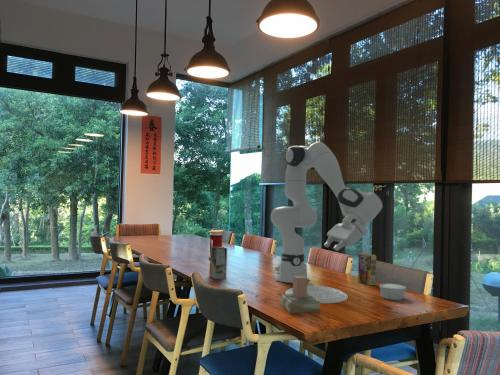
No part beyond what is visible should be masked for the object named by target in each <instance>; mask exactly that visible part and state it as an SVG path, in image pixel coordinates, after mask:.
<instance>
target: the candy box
mask: <svg viewBox="0 0 500 375" xmlns="http://www.w3.org/2000/svg"><path fill="white" fill-rule="evenodd" d="M357 268H358V270H357V282H358V283H361V284H364V285H369V286H376V282H377V281H376V280H377V276H376V275H377V255H376V254H370V253H365V252H360V253H358V267H357Z"/></svg>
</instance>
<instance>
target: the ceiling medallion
mask: <svg viewBox="0 0 500 375" xmlns="http://www.w3.org/2000/svg"><path fill="white" fill-rule="evenodd" d="M284 294H293V287H291V288H289V289H286V290H285V293H284ZM307 294H310V295H311V296H313V297H314V298H316V299H317V300H319V301H320V304H335V303H337V304H338V303H342V302H345V301H347V300H348V299H349V296H348V294H347V293H345V292H344V291H342V290H340V289H337V288H334V287H330V286H327V285H308V284H307Z"/></svg>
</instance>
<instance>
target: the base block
mask: <svg viewBox="0 0 500 375" xmlns="http://www.w3.org/2000/svg"><path fill="white" fill-rule="evenodd" d="M280 305H281V306H282V307H283V308H284V309H285V310H286V311H287V312H288V313H290V314H291V313H292V314H293V313H294V314H298V313H317V312H320V305H321V303H320V301H319V300H317V299H316V298H314V297H313V296H311V295H310V294H307V298H299V299H296V298H295V297H294V296H293V294H285V293H284V294H280Z"/></svg>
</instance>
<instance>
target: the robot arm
mask: <svg viewBox="0 0 500 375" xmlns="http://www.w3.org/2000/svg"><path fill="white" fill-rule="evenodd" d="M284 159H285V162H286V164H287V167H286V170H285V176H284V177H285V180H284V195H285V196H286V198H287V199H289V200H291V201H292V203H293V206H279V207H275V208H273V209H272V211H271V214H270V221H271V223H272V225H273V226H275V227H276V228H277V230H278V231H279V233H280V235H281V239H282V253H281V256H280V257H281V258H280V259H281V260H280V262H279V263H278V265H277V266H275V267H274V270H275V273H273V274H272V276H273V279H274V281H276V282H283V283H288V284H289V283H290V284H293V276H305V277H307V282H308V281H310V277H308V267H307V264H306V263H305V256H306V255H305V251H304V250H305V240H304V238H303V237H302V235H300V234H298V233H297V232H296V228H309V227H312V226H314V225H315V224H316V223H317V220H318V214H317V212H316V210H315V209H314V208H313V207H312V206H311V205H310V203H309V200H308V198H307V172H308V170H309V169H311V170H315V171H316V172H317V174H318V175H319V177H321V179H322V180H323V181H324V182H325V183H326V184H327V185H328V187H329V189H331V191H332V192H333V194H334V196H335V197H336V198H337V202H338V204H339V208H340V210H341V214H342V217H343V219H342V220H341V223H337V224H335V225H334V226H333V227H332V228H330V230H328V232H327V233H326V236H327V237H328V238H327V239H326V242H325V243H324V244H323V246H324V247H325V248H329V247H331V244H332V243H333V242H337V244H335V245H334V246H333V248H332V249H333V250H334V251H336V252H338V251H339V250H340V249H342V248H344V247H345V246H346V245H347V246H349V247H352V246H354V245H355V244H356V243H357V242H358V241H359V240H360V239H361V238H362V237H363V236H366V234H367V233H368V230H367V229H366V227H368V224H369V223H370V222H371V221H373V220H374V219H375V218H376V217H377V215H379V213H380V212H381V210H382V209H383V201H382V200H381V198H380V196H379V195H377V193H375V192H370V191H369V192H365V191H361V190H357V189H356V188H354V187H347V186H346V185H345V182H344V179H343V175H342V171H341V167H340V164H339V161H338V160H337V157H336V155H335V154H334V153H333V151H332V150H331V149H330V148H329V146H327V145H326V144H325V143H324V142H322V141H315V142H313V143H311V144H310V145H291V146H289V147H288V148H287V149H286V151H285V154H284Z"/></svg>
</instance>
